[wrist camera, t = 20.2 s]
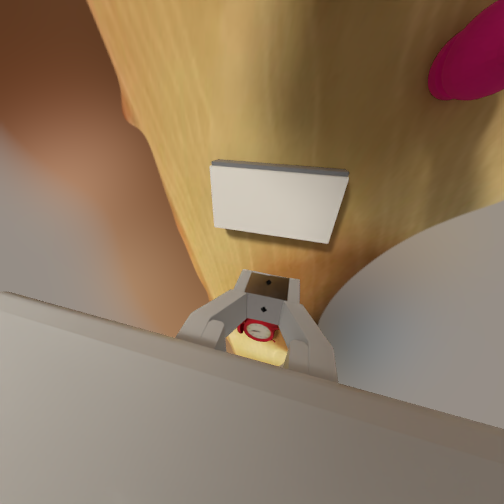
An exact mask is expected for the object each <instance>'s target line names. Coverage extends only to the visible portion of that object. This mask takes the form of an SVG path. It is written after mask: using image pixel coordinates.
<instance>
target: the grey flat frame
mask: <svg viewBox="0 0 504 504" xmlns="http://www.w3.org/2000/svg"><path fill="white" fill-rule="evenodd" d="M212 165H213V166H225V167H236V168H248V169H260V170H272V171H284V172H296V173H307V174H319V175H331V176H343V177H348V175H349V172H348V171H347V170H346V169H336V168H323V167H310V166H297V165H284V164H271V163H258V162H246V161H233V160H220V159H218V160H215V161H212ZM231 230H232V229H231ZM251 233H252V232H251ZM258 234H259V233H258ZM278 237H279V236H278ZM285 238H286V237H285ZM305 241H306V240H305ZM325 244H326V243H325Z"/></svg>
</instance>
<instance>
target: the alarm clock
mask: <svg viewBox="0 0 504 504" xmlns="http://www.w3.org/2000/svg"><path fill="white" fill-rule="evenodd" d="M243 322H245V323H243ZM243 322H242V323H241V324H240V325H239V326H238V327H237V330H238V332H239V333H243V331H244V332H245V333H246V335H247V336H248V337H250V338H252V339H254V340H256V341H261V342H266V341H270V340H273V339H272V338H273V337H274V332H275V330H277V328H278V326H277V325H275V324H271V323H268V322H264V321H260V320H255V319H250V318H246V319H245V321H243ZM273 341H274V340H273ZM274 342H275V341H274Z"/></svg>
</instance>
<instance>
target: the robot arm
mask: <svg viewBox="0 0 504 504" xmlns="http://www.w3.org/2000/svg"><path fill="white" fill-rule="evenodd" d="M299 300H300V280H299V279H293V278H286V277H281V276H275V275H270V274H265V273H260V272H256V271H250V270H245V269H243V270H242V272H241V274H240V276H239V279H238V281H237V283H236V285H235V287H234V289H233V290H231V289H230V290H229V291H227V292H225V293H224V294H222V295H220V296H219V297H217V298H215V299H214V300H212V301H210V302H209V303H207V304H206V305H204V306H202V307H200V308H199V309H197V310H195V311H194V312H192V313H191V314H190V316H189V317H188V319H187V320H186V322H185V323H184V325H183V326H182V328H181V330H180V331H179V333H178V334H177V336H176V337H175V338H173V337H169V336H166V335H162V334H159V333H155V332H151V331H148V330H144V329H141V328H137V327H133V326H130V325H126V324H123V323H119V322H116V321H111V320H108V319H105V318H101V317H97V316H94V315H90V314H87V313H83V312H80V311H76V310H72V309H69V308H65V307H62V306H58V305H54V304H51V303H47V302H44V301H40V300H37V299H33V298H29V297H26V296H22V295H19V294H15V293H12V292H0V504H504V429H502V428H498V427H494V426H491V425H487V424H484V423H480V422H476V421H473V420H469V419H466V418H462V417H458V416H455V415H451V414H448V413H444V412H440V411H437V410H433V409H429V408H426V407H422V406H419V405H415V404H411V403H407V402H404V401H401V400H397V399H393V398H390V397H386V396H383V395H379V394H375V393H372V392H368V391H364V390H361V389H357V388H354V387H350V386H346V385H343V384H339V383H338V377H337V370H336V363H335V356H334V349H333V347H332V346H331V344H330V343H329V341H328V340H327V339H326V337H325V336H324V335H323V333H322V332H321V330H320V329H319V328H318V326H317V324H316V323H315V322H314V320H313V319H312V317H311V316H310V315H309V313H308V312H307V310H306V309H305V308H304V306H303V305H302V304H299ZM246 318H250V319H255V320H260V321H264V322H268V323H271V324H275V325H279V328H280V330H281V333H282V335H283V338H284V340H285V342H286V345H287V347H288V352H287V355H286V359H285V362H284V365H283V368H281V367H278V366H274V365H271V364H267V363H264V362H260V361H256V360H253V359H249V358H245V357H242V356H238V355H235V354H231V353H227V352H226V343H225V338H226V337H227V336H228V335H229V334H230V333H231V332H232V331H233V330H234V329H236V328H237V327H238V326H239V325H240V324H241V323H242V322H243V321H244V320H245V319H246Z"/></svg>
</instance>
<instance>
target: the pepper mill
mask: <svg viewBox="0 0 504 504" xmlns="http://www.w3.org/2000/svg"><path fill="white" fill-rule="evenodd" d="M428 88H429V90H430V92H431V94H432V95H433V96H434V97H435V98H437V99H440V100H451V99H457V100H474V99H479V98H482V97H485V96H488V95H491V94H494V93H496V92H499V91H501V90H503V89H504V0H498V1H496V2H494V3H493V4H491V5H490V6H488V7H487V8H486V9H484V10H483V11H482V12H481V13H480V14H478V15H477V16H476V17H475V18H474V19H473V20H472V21H471V22H470V23H469V24H468V25H467V26H466V27H465V28H464V30H462V31H461V32H459V33H458V34H456V35H455V36H454V37H453V38H452V39H450V40H449V41H448V42H447V43H446V44H445V46H444V47H443V48H442V49H441V50H440V52H439V53H438V55H437V56H436V58H435V60H434V61H433V64H432V66H431V68H430V71H429V75H428Z"/></svg>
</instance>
